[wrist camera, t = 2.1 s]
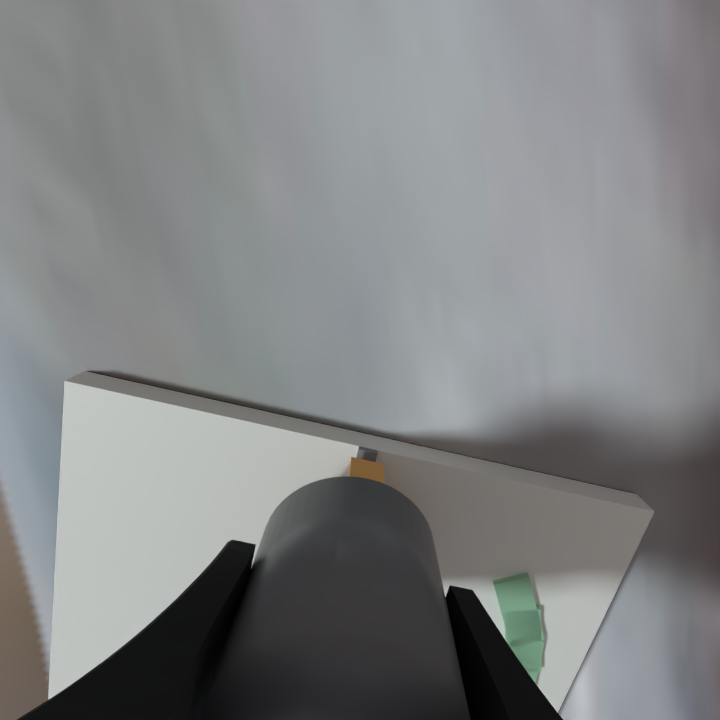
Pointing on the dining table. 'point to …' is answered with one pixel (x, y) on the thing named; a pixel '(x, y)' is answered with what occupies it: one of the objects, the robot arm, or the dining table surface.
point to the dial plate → (276, 482)
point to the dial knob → (341, 613)
